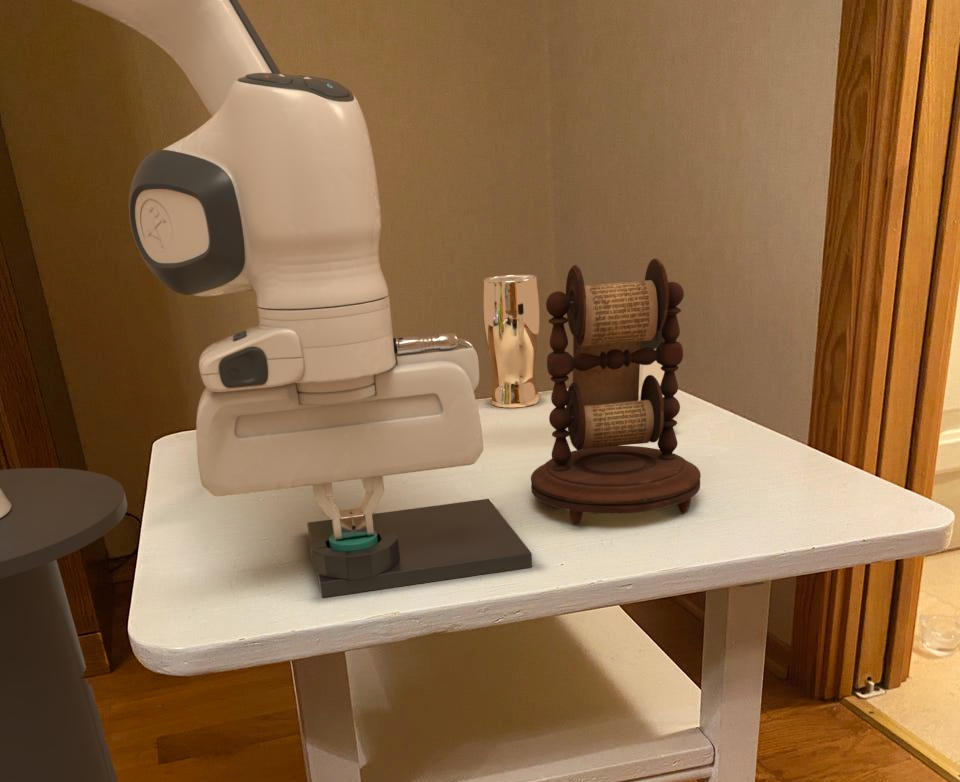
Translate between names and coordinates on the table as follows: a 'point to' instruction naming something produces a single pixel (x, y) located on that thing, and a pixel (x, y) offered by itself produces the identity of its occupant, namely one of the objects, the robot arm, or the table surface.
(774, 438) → the table surface
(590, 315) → the scroll
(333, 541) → the button
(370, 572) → the scale
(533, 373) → the beer glass
